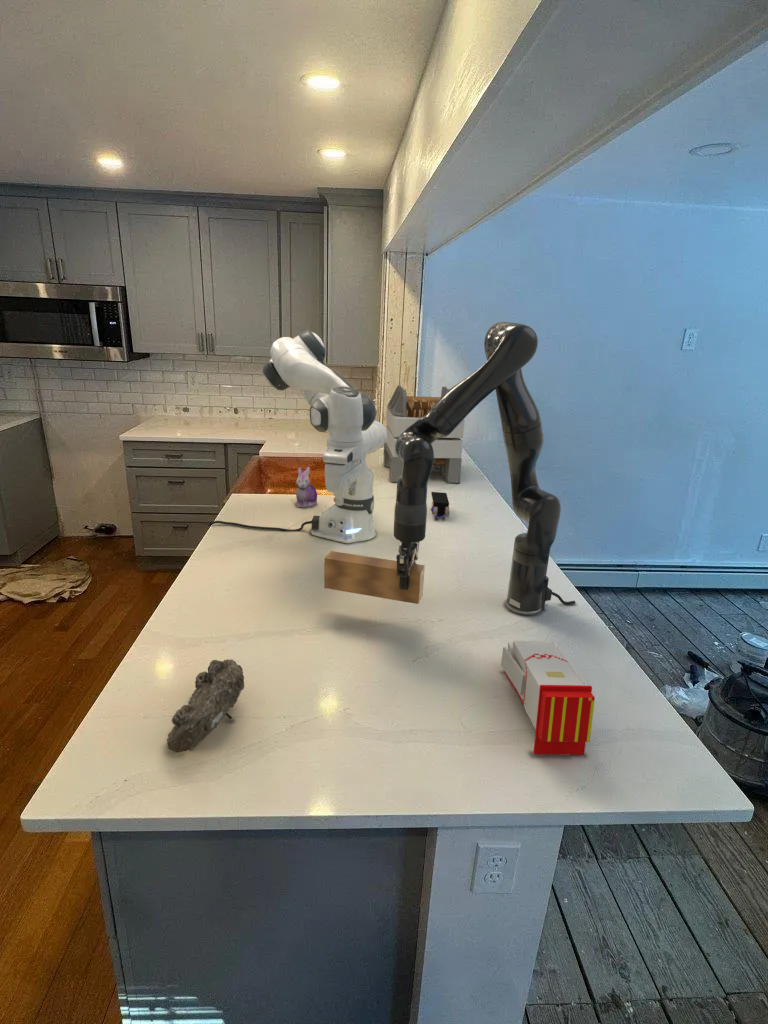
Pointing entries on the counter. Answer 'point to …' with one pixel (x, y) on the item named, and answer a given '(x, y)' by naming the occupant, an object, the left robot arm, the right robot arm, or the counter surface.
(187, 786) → the counter surface
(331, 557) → the bar
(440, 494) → the figurine character
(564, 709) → the toy
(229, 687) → the fossil
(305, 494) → the figurine
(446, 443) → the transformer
